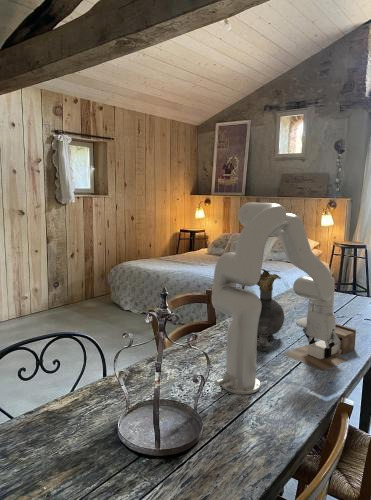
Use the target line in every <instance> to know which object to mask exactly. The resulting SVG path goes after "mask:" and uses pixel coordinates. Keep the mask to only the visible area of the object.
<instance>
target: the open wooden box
mask: <svg viewBox="0 0 371 500" xmlns="http://www.w3.org/2000/svg"><path fill="white" fill-rule="evenodd" d="M335 326H336V332H335V333H336V335H337V336H338V338H339V339H340V340H342V349H340V350H338V353H335V354H333V355H331V356H330V357H328V358H323V359H319V358H316V357H313V356H311V355H308V354H307V348H308V345H309V344H306V345H303V346H299V347H297V348H295V349H292V350H289V351H287V352H284V353H282V355H284V356H286V357H288V358H290V359H294V360H296V361H298V362H301V363H303V364H305V365H308V366H310V367H312V368H314V369H317V370H319V371H323V372H324V371H325V372H326V371H327V370H328V369H331V368H333V367H336V366H337V365H338V366H339V365H340V364H342V363H344V362H347V361H348V359H345V358H342V357H341V356H342V355H345V354H347V353H350V352H352V351H354V350H355V348H356V346H355V345H356V334H357V330H356V329H355V328H352V327H348V326H344V325H341V324H338V323H335Z"/></svg>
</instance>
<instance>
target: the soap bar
mask: <svg viewBox="0 0 371 500" xmlns="http://www.w3.org/2000/svg"><path fill="white" fill-rule="evenodd" d="M333 341H334V339H332V342H333ZM328 342H329V341H328ZM307 345H308V348H307V354H308V355H311V356H313V357H316V358H319V359H323V358H324V353H325V348H326V344H325V341H322V340H318V341H316V342H315V343H313V344H310V345H309V344H307ZM340 349H342V340H340V342H339V343H337V344H336V345H335V346H333V347H332V351H331V355H333V354H335V353H338V350H340Z"/></svg>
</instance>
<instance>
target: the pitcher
mask: <svg viewBox="0 0 371 500" xmlns="http://www.w3.org/2000/svg"><path fill="white" fill-rule="evenodd" d="M270 272H271V271H270V270H266V269H264V268H262V270H261V276H260V279H259V282H258V283H257V284H256V285H257V286H258V287H259V291H260V292H259V299H260V301H261V305H262V308H261V313H260V317H259V322H258V329H257V340H259V333H260V326H261V325H263V323H264V325H266V326H267V334H268V336H267V341H272V340H274V338H275V336H274V335H275V334H278V332H280V331H281V329H282V328H283V325H284V322H285V313H284V312H285V311H284V309H283V307H282V306H281V304H280V303H279V302H278V301H276V300H274V299H273V289H274V287H273V285H274V281H275V280H277V279H279V280H282V278H281V276H279V275H278V274H275V273H272V274H271V273H270ZM256 285H255V286H256ZM245 287H246V286H244V285H241V289H244V290H245Z"/></svg>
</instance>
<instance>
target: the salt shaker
mask: <svg viewBox="0 0 371 500" xmlns="http://www.w3.org/2000/svg"><path fill="white" fill-rule="evenodd" d="M267 336H268V334H267V326H266V325H264V323H263V325H261V326H260V333H259V339H258V340H257V349H258V350H257V351H262V352H267V351H268V350H269V349H270V348H271V347H270V346H271V345H272V343H270V342H269V340H267Z"/></svg>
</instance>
